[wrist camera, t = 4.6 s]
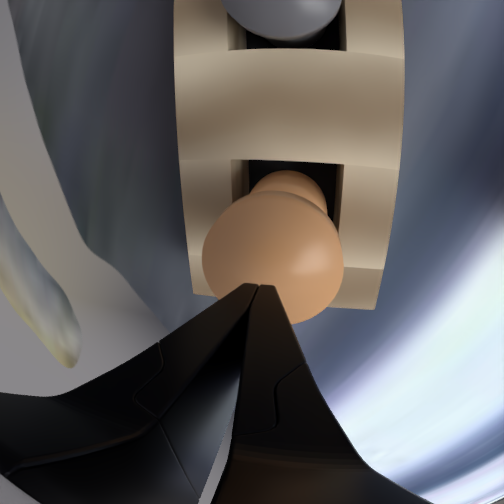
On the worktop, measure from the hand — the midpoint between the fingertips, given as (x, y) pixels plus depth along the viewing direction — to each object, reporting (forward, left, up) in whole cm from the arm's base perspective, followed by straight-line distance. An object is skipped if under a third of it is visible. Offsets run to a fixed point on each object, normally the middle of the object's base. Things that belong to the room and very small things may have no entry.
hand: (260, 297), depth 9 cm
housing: (0, -5, -11) cm, 12 cm away
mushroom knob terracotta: (0, 0, -8) cm, 8 cm away
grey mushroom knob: (0, -10, -10) cm, 14 cm away
